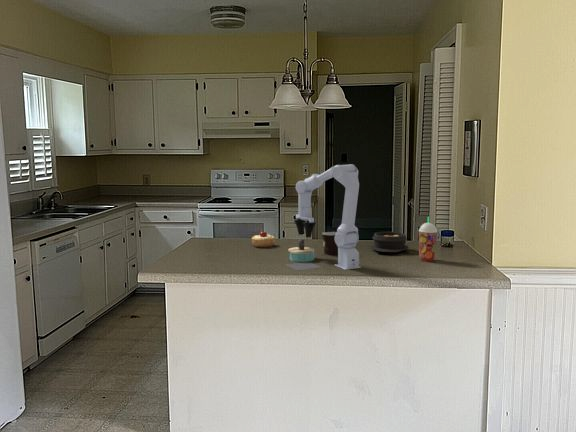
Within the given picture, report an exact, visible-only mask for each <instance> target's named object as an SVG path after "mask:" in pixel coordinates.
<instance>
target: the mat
mask: <svg viewBox="0 0 576 432" xmlns="http://www.w3.org/2000/svg"><path fill="white" fill-rule="evenodd" d="M285 266H286V267H288V268H291V269H292V270H295V271H306V270H314V269H322V268H323V267H322V266H320V265H317V264H315V263H313V262H311V261H308V262H297V263H296V262H295V263H289V264H288V263H287V264H285Z"/></svg>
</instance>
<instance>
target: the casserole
mask: <svg viewBox="0 0 576 432" xmlns="http://www.w3.org/2000/svg"><path fill="white" fill-rule="evenodd" d="M371 238H372V240H373V243H372V244H371V245H370V247H371V248H372V249H374V250H375V251H376V252H378V253H379V252H380V253H381V252H382V253H389V254H390V253H393V254H394V253H400V252H402V251H406V250H408V249H409V248H410V246H408V245H407V244H406V241H407V240H408V238H407V237H406V234H405V233H404V232H398V231H378V232H375V233H374V234H373V236H372V237H371Z"/></svg>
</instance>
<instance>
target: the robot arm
mask: <svg viewBox="0 0 576 432" xmlns="http://www.w3.org/2000/svg"><path fill="white" fill-rule="evenodd" d="M332 178H334V179H335V180H336V181H337V182H339V183H340V184H341V185H342V186H343V187H344V188H345V189H344V190H345V191H344V199H343V209H342V215H341V216H342V217H341V218H342V219H341V224H340V225H339V226H338V227H337V229H336V232H337V233H336V235H335V243H336V245H337V247H338V254H337V263H335V264H334V267H335V266H336V267H338V268H340V269H342V270H344V271H345V270H351V269H352V270H353V269H361V266H360V252H359V251H358V250H357V248H356V246H357V243H358V242H359V238H360V237H359V236H360V235H359V228H358V227H357V226H356V225H355V223H356V215H357V207H358V199H359V198H358V197H359V191H360V190H359V189H360V182H359V170H358V167H356V165H355V164H354V163H353V164H351V163H349V164H336V165H333V166H331V167H330V168H329V169H327V170H326V171H324V172H322V173H320V174H318V173H312V174H311V176H309V177H306V178H304V180H299V181H297V182H296V184H295V191H296V193H297V194H298V202H297V203H298V209H297V210H298V213H297V214H295V219H294V220H293V221H294V223H295V226H296V229H297V232H298V235H299V236H300V235H301V236H302V235H304V233H305V237H306V238H311V237H312V233H313V230H314V229H315V225H316V224H317V223H316V222H315V218H314V217H313V216H312V202H311V201H312V195H313V193H312V192H313V191H314V190H315V189H317V188H320V187H321V186H323V184H324V182H326V181H328V180H330V179H332Z"/></svg>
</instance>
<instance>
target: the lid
mask: <svg viewBox="0 0 576 432" xmlns="http://www.w3.org/2000/svg"><path fill="white" fill-rule="evenodd" d="M288 252H289V254H290V253H294V254H309V253H313V252H314V253H315V248H313V247H308V246H305V239H298V246H296V247H290V248H288Z"/></svg>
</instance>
